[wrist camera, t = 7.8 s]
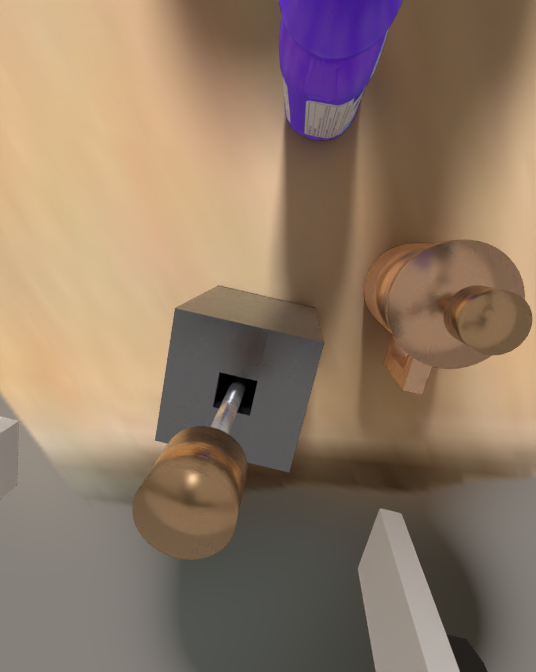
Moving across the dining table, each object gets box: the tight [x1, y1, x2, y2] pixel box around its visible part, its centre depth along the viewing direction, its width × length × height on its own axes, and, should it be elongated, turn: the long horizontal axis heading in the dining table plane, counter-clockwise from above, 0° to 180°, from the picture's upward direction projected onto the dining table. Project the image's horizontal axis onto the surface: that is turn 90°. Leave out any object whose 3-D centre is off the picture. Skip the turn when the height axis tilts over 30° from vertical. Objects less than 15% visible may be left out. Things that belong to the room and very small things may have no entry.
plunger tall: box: [133, 373, 258, 560], centre depth 22 cm, size 7×7×19 cm
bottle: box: [279, 0, 402, 140], centre depth 20 cm, size 7×6×17 cm
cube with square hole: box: [155, 286, 324, 472], centre depth 29 cm, size 12×9×12 cm
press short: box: [364, 240, 532, 395], centre depth 25 cm, size 11×8×15 cm
